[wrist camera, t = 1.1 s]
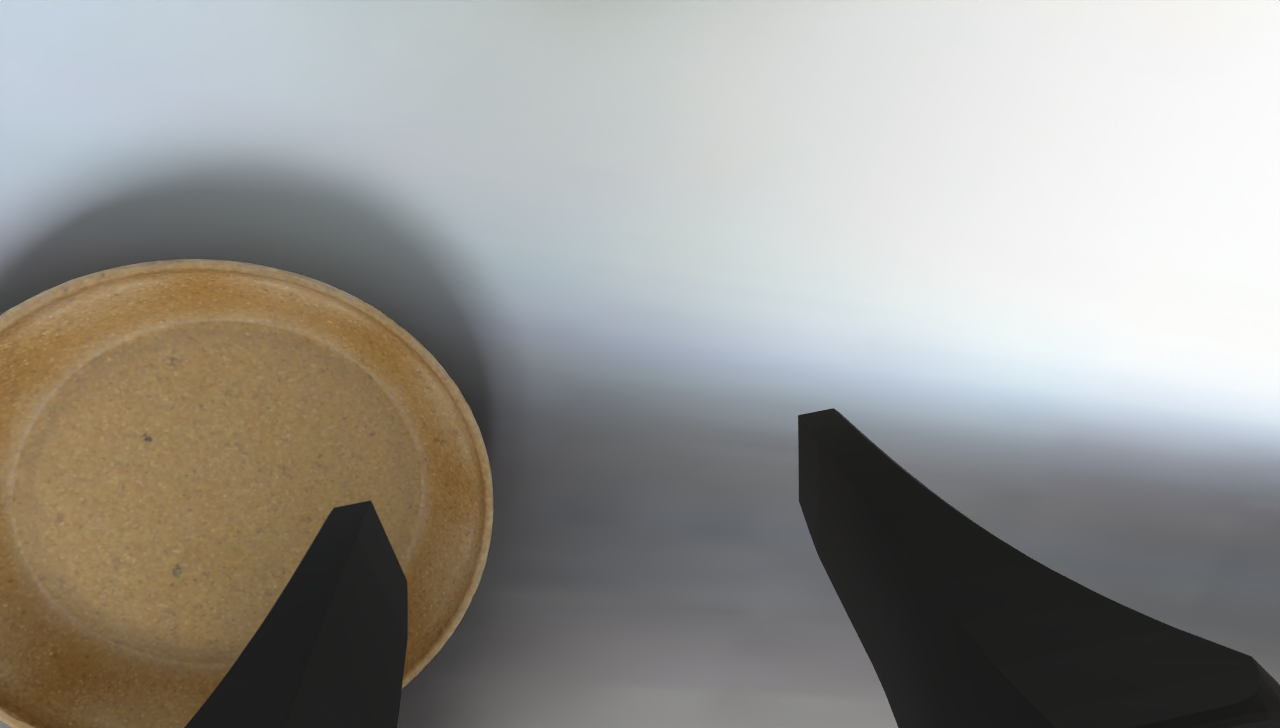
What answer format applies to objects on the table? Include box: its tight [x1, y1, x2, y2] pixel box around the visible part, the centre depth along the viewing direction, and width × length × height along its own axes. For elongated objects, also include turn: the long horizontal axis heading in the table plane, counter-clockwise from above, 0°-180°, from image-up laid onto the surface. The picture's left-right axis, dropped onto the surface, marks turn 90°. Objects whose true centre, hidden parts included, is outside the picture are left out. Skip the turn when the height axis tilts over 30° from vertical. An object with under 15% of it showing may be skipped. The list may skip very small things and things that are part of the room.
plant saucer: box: [0, 259, 494, 728], centre depth 23 cm, size 15×15×3 cm
